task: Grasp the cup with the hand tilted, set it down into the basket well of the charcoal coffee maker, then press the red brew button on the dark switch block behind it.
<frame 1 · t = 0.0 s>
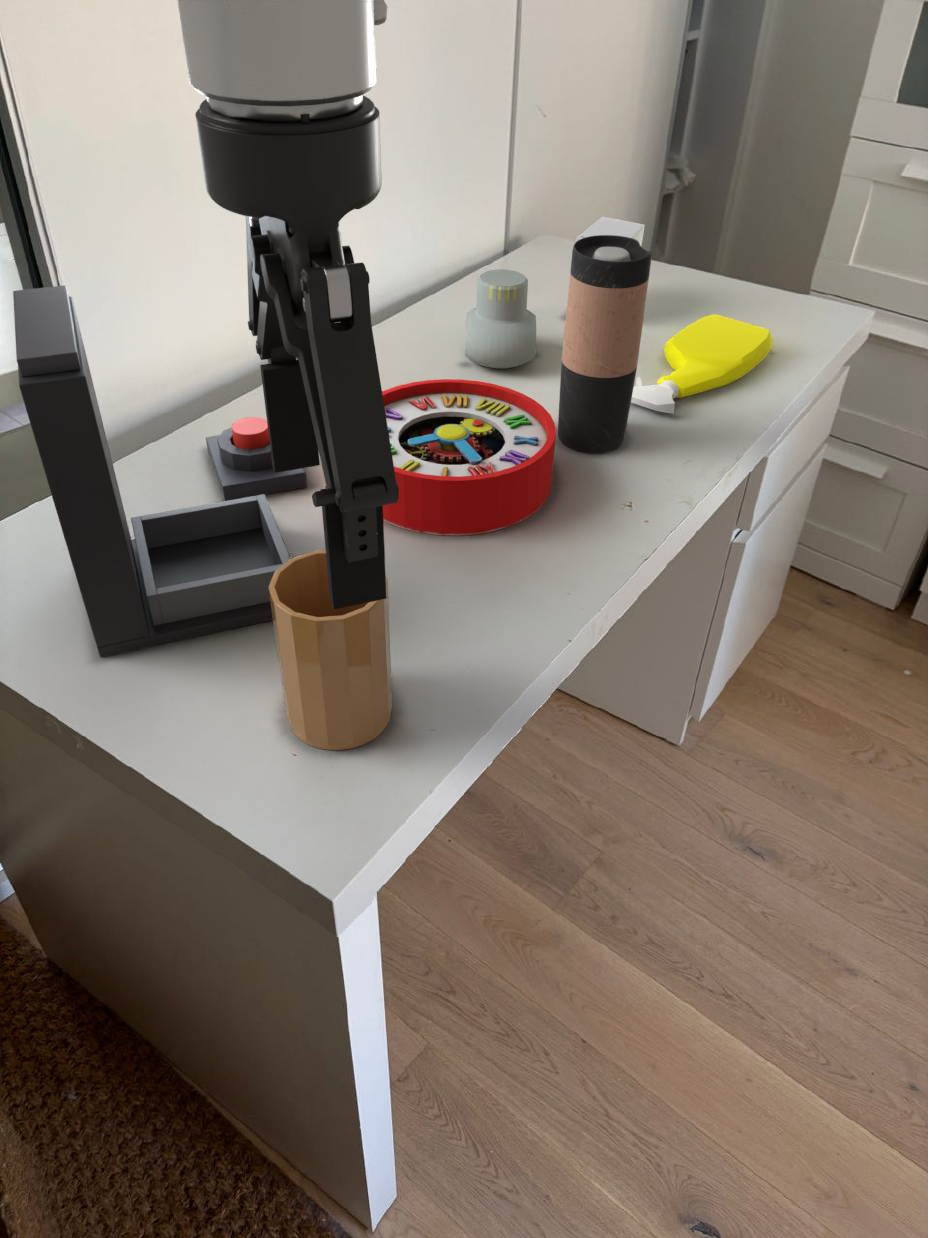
hand: (324, 527, 53), 21 cm above the table, tool pointing down, fingers open, 13 cm apart
cup: (339, 712, 71), on the table
coffee maker: (190, 584, 82), on the table
spray bottle: (692, 376, 116), on the table
air freshener: (499, 360, 118), on the table
brew button: (251, 433, 95), point 4 cm above the table, slide at 0.1 cm
cosmetics box: (601, 310, 131), on the table
toy clock: (451, 479, 97), on the table
travel mug: (590, 438, 104), on the table
switch block: (256, 468, 97), on the table
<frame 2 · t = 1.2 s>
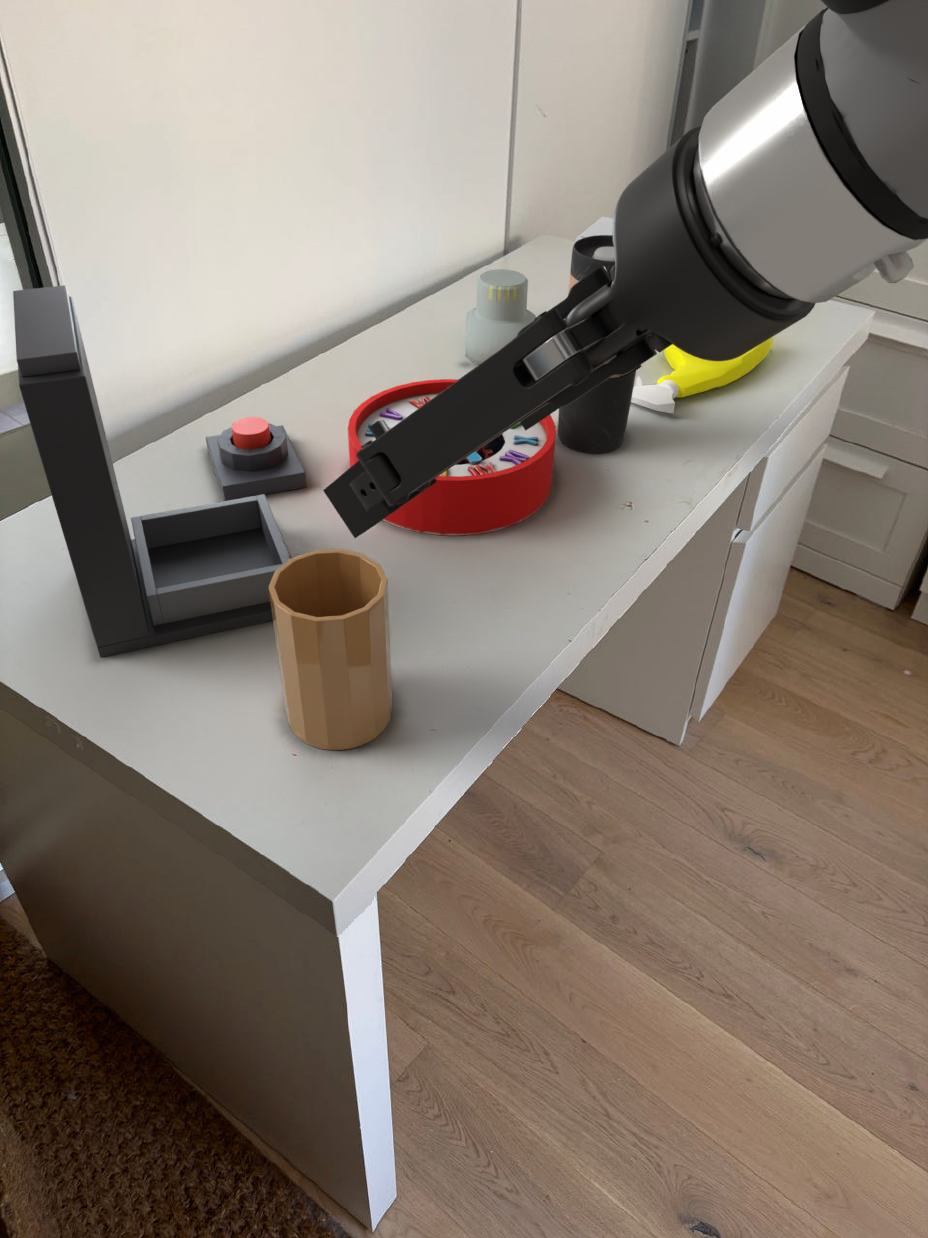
hand: (437, 455, 50), 25 cm above the table, tool tilted 45°, fingers open, 13 cm apart
nothing on the table moved.
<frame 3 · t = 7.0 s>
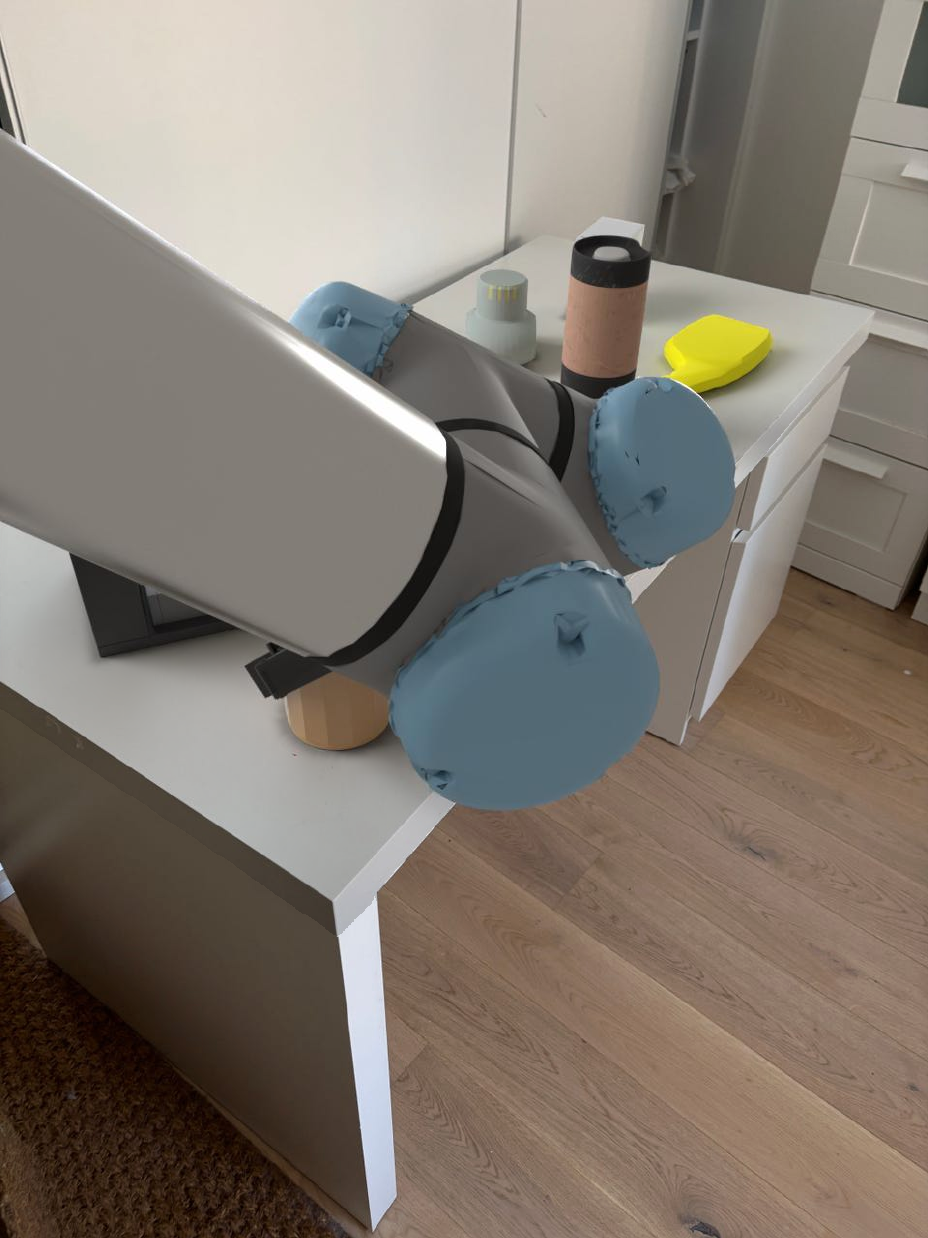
hand: (303, 650, 70), 4 cm above the table, tool tilted 45°, fingers closed on cup, 8 cm apart
cup: (339, 712, 71), on the table, touching gripper
everything else where it was.
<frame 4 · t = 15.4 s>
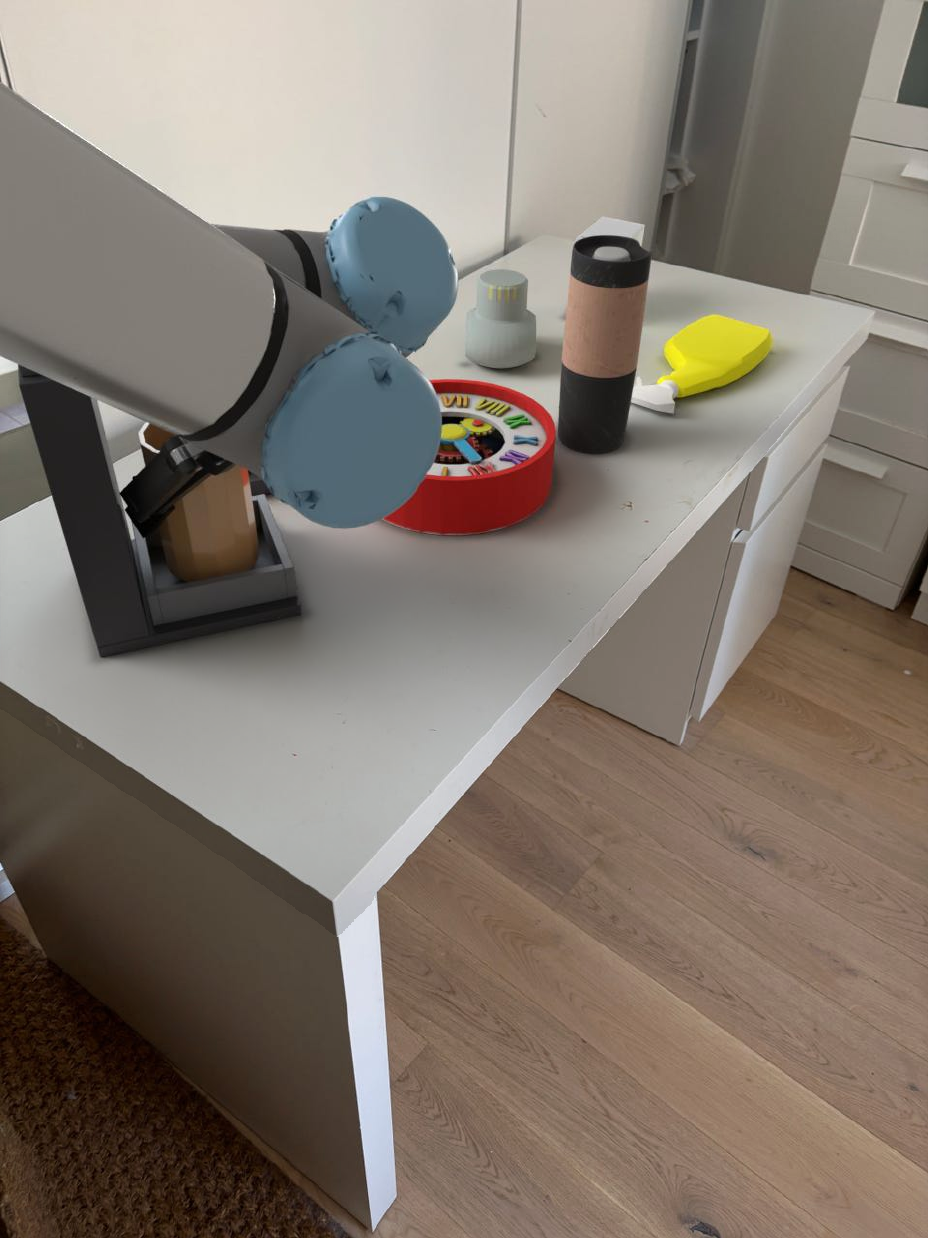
hand: (180, 501, 81), 6 cm above the table, tool tilted 45°, fingers closed on cup, 8 cm apart
cup: (213, 557, 82), point 2 cm above the table, touching gripper
everything else where it was.
when the fingers open (5 cm above the table, at t = 16.0 s): cup stays where it is, resting on coffee maker.
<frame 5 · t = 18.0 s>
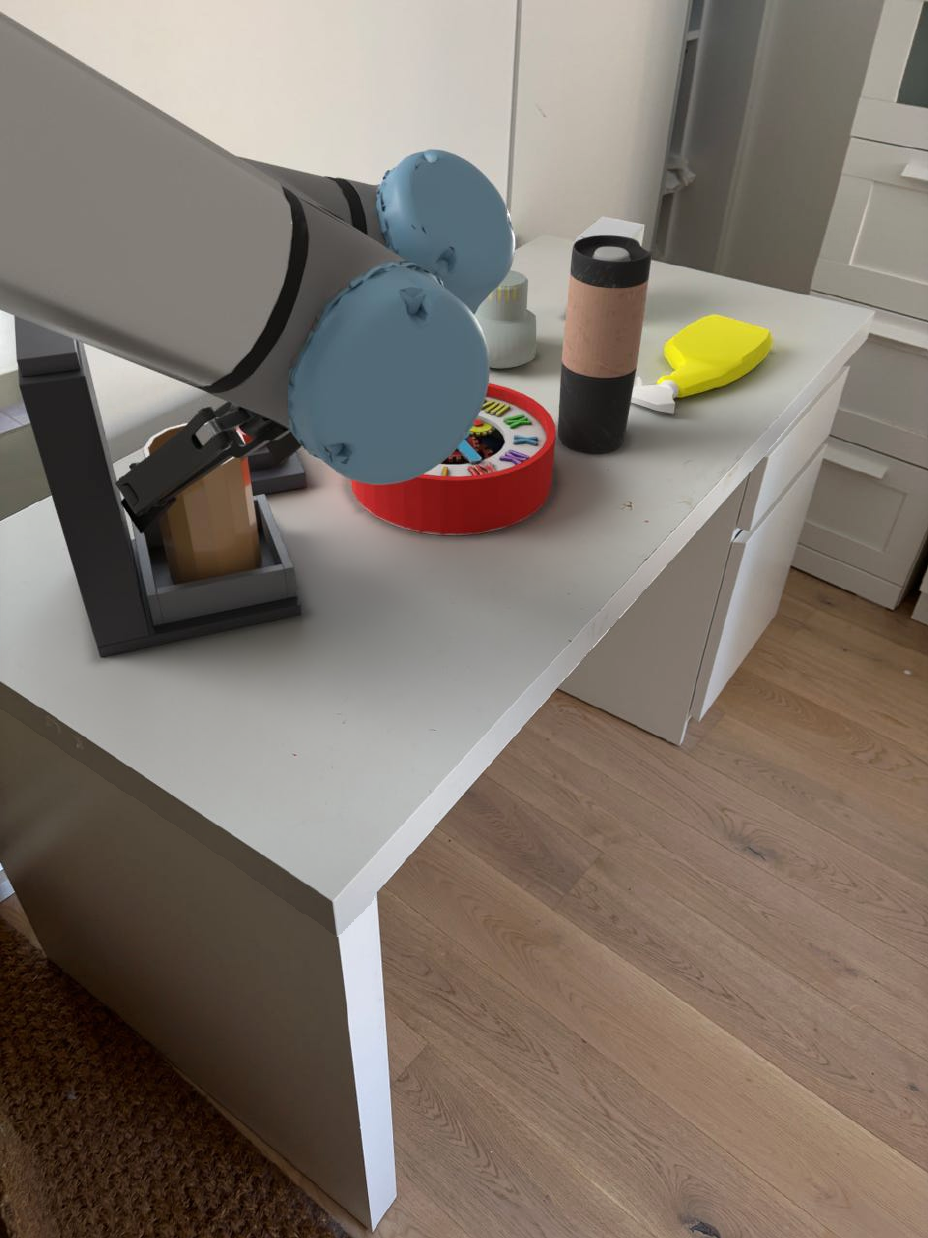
hand: (207, 481, 76), 10 cm above the table, tool tilted 45°, fingers open, 13 cm apart
cup: (216, 569, 82), point 1 cm above the table, touching coffee maker
everything else where it was.
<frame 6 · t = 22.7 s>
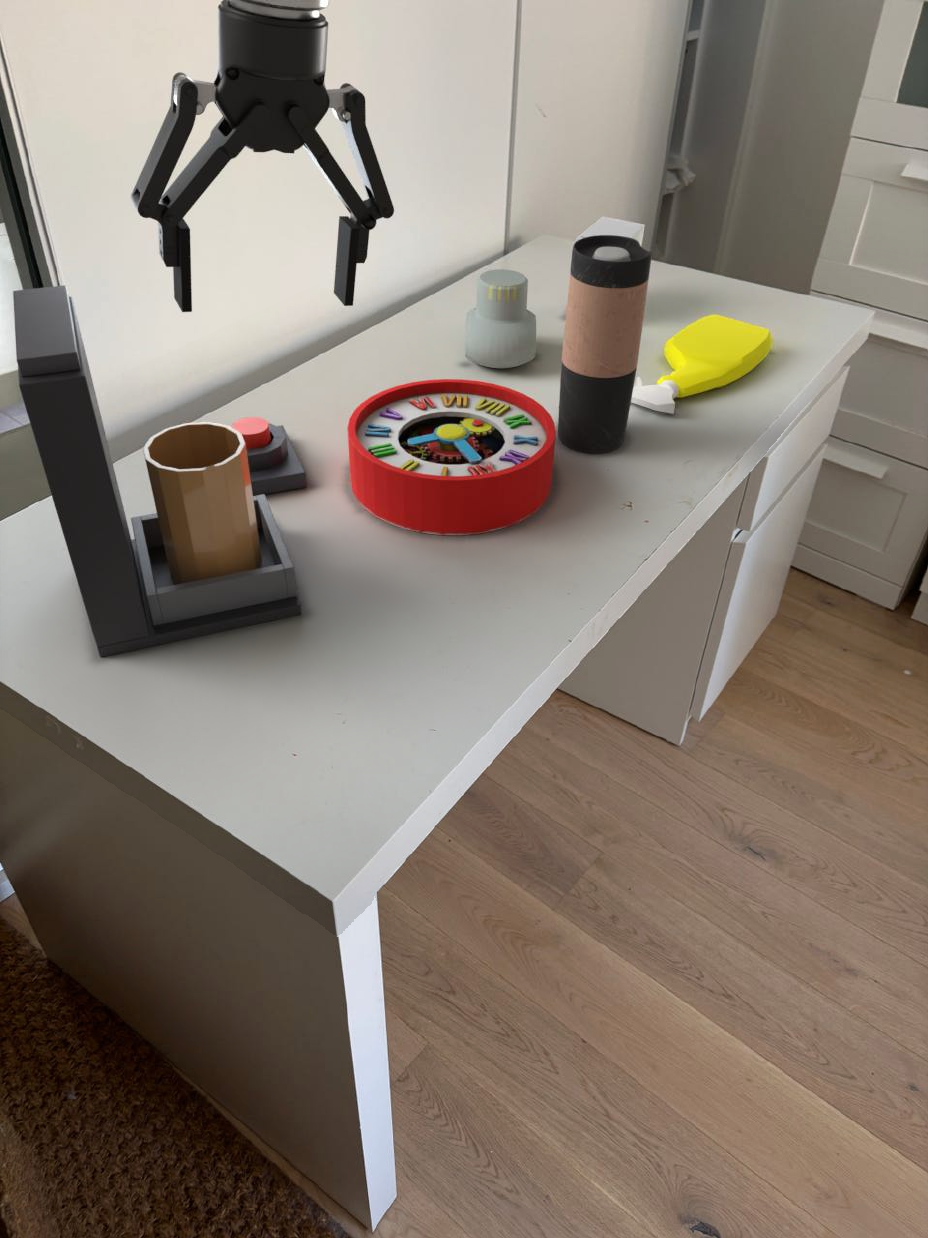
hand: (266, 302, 80), 20 cm above the table, tool pointing down, fingers open, 13 cm apart
nothing on the table moved.
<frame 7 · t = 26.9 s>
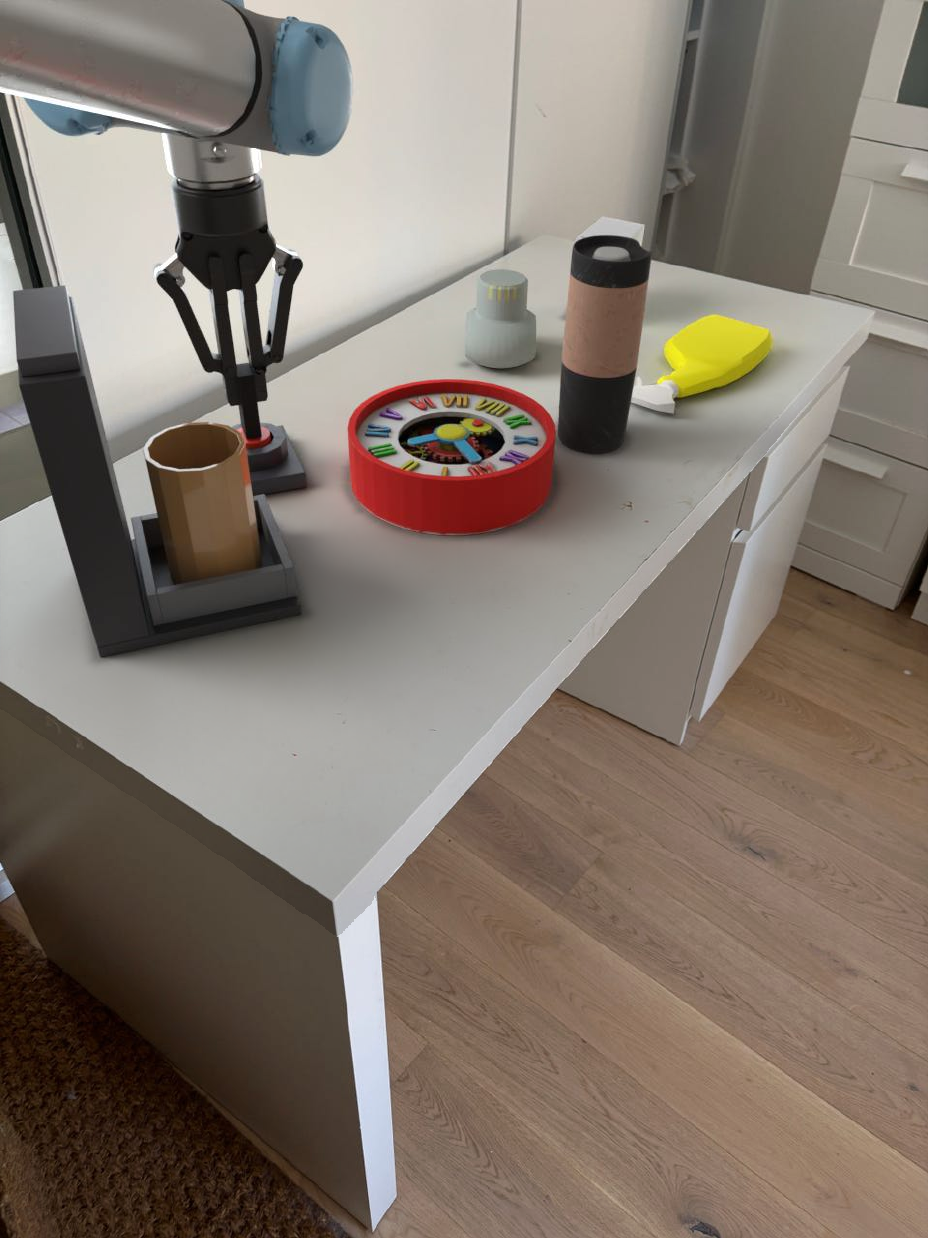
hand: (251, 431, 94), 4 cm above the table, tool pointing down, fingers closed
brew button: (252, 441, 95), point 3 cm above the table, slide at -0.8 cm, touching gripper
everything else where it was.
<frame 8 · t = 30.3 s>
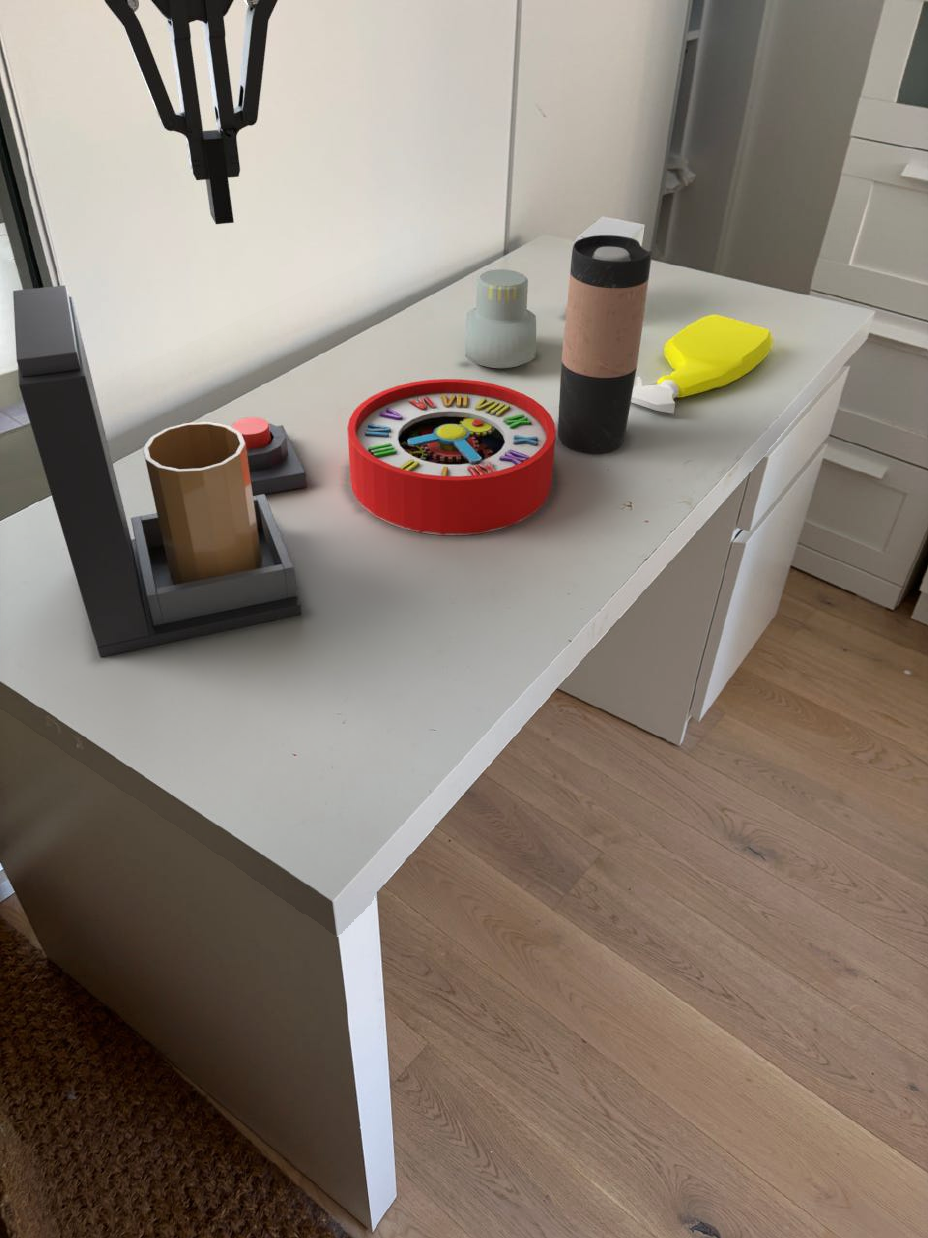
hand: (222, 218, 82), 24 cm above the table, tool pointing down, fingers closed
brew button: (251, 433, 95), point 4 cm above the table, slide at 0.1 cm
everything else where it was.
at the end: cup 0.1 cm from the target spot on the coffee maker, point 1.0 cm above the coffee maker's base; cup tilted 0°; brew button pushed in 1.0 cm at the most during the clip, back to where it started at the end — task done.
